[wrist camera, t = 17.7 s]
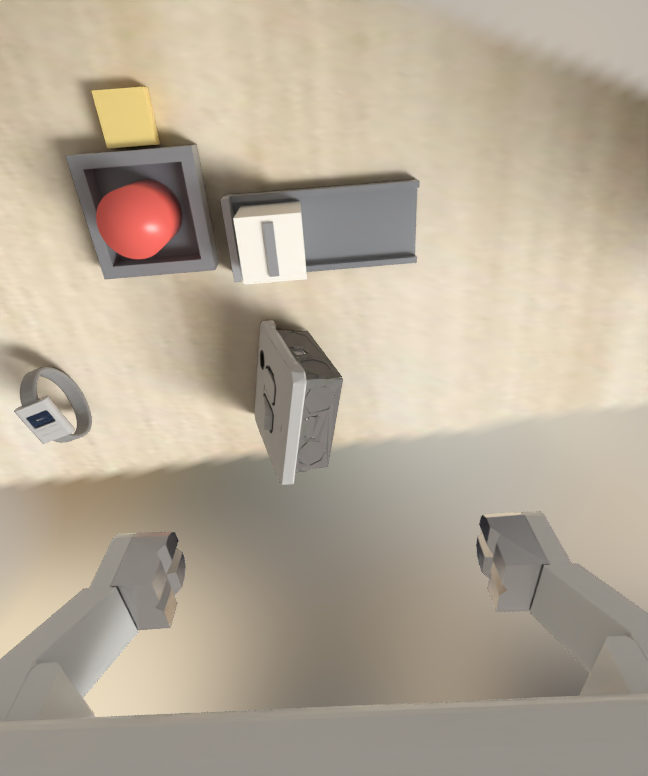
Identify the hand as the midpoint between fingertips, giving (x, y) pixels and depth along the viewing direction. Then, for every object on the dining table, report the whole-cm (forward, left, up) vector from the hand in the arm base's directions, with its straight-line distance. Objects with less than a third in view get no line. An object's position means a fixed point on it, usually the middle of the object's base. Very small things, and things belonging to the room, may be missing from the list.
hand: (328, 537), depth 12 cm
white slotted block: (+2, -3, -25) cm, 25 cm away
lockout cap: (+10, -5, -25) cm, 27 cm away
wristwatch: (+20, +8, -25) cm, 33 cm away
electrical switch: (+2, +8, -25) cm, 27 cm away
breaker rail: (-1, -3, -25) cm, 25 cm away
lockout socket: (+10, -7, -25) cm, 28 cm away
